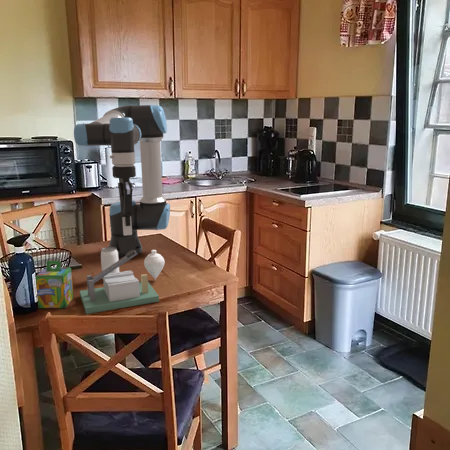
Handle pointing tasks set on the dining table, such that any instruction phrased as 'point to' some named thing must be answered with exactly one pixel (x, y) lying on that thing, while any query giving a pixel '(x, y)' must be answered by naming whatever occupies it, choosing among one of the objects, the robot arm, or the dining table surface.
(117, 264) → the strap
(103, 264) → the can
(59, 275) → the chalk box
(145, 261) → the spinning top
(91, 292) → the heatsink board
